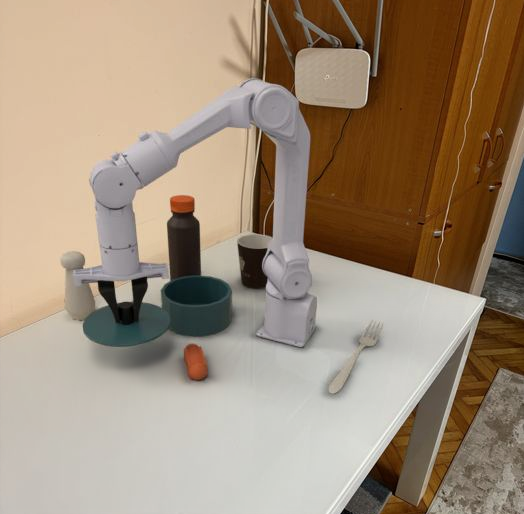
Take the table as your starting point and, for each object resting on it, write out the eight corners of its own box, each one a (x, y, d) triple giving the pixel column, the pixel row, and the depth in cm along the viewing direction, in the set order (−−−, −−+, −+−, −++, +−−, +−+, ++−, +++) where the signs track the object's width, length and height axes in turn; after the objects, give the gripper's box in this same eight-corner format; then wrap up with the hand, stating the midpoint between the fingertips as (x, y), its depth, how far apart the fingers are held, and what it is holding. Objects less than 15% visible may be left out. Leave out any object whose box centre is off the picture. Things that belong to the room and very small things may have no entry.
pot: (243, 314, 104) (244, 285, 100) (206, 343, 94) (205, 313, 90) (189, 297, 109) (188, 270, 106) (149, 324, 99) (146, 294, 95)
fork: (321, 390, 83) (323, 381, 82) (368, 326, 101) (370, 318, 100) (340, 397, 82) (341, 388, 81) (384, 331, 100) (386, 323, 99)
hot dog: (209, 382, 84) (208, 367, 82) (190, 384, 83) (190, 369, 81) (199, 353, 91) (199, 339, 89) (183, 355, 90) (182, 341, 88)
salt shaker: (88, 324, 98) (77, 261, 91) (60, 320, 99) (48, 258, 92) (102, 310, 103) (93, 249, 96) (76, 306, 104) (65, 246, 97)
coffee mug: (274, 291, 113) (276, 249, 108) (235, 290, 113) (235, 247, 108) (274, 270, 123) (276, 230, 118) (238, 268, 123) (238, 228, 117)
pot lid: (187, 320, 89) (186, 299, 87) (131, 360, 78) (129, 336, 76) (124, 299, 95) (122, 278, 92) (64, 333, 84) (60, 310, 82)
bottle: (185, 278, 117) (181, 191, 106) (207, 287, 114) (206, 198, 103) (164, 288, 112) (157, 198, 102) (186, 297, 109) (182, 205, 98)
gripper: (162, 230, 84) (167, 303, 91) (69, 236, 80) (82, 312, 87) (168, 246, 78) (172, 323, 85) (68, 253, 74) (81, 332, 81)
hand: (127, 319), depth 86 cm, fingers closed on pot lid, 2 cm apart
